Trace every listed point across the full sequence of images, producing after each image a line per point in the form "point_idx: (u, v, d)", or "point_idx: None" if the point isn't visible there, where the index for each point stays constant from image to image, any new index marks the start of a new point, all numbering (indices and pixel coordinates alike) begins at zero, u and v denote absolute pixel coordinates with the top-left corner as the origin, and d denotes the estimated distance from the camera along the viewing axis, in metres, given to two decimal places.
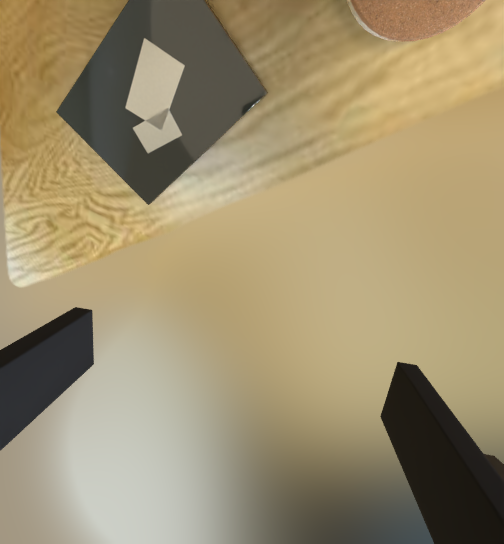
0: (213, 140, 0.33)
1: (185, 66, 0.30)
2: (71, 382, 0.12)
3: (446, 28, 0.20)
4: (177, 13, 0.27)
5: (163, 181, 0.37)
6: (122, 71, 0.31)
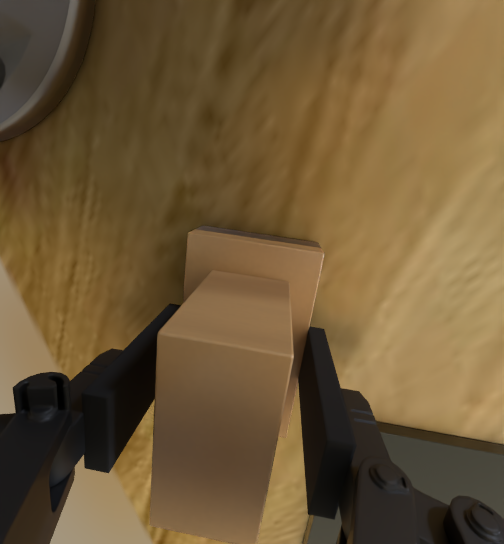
0: None
1: None
2: None
3: None
4: None
5: None
6: None
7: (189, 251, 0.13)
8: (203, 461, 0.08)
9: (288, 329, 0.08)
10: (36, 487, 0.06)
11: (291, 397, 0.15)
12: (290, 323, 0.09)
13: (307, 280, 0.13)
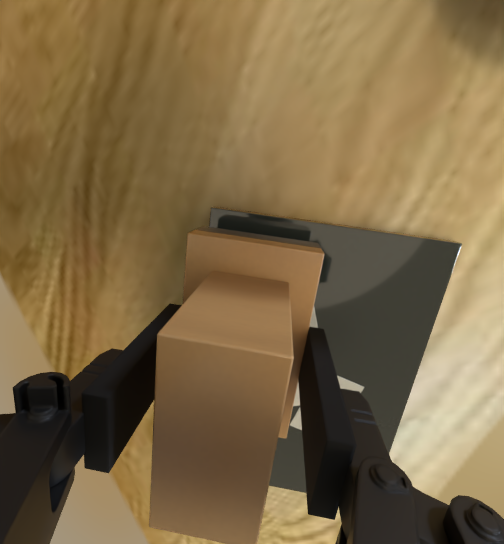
0: (417, 361, 0.18)
1: (315, 306, 0.18)
2: None
3: None
4: None
5: None
6: None
7: (189, 252, 0.13)
8: (203, 462, 0.08)
9: (288, 330, 0.08)
10: (36, 487, 0.06)
11: (291, 398, 0.14)
12: (291, 324, 0.09)
13: (307, 281, 0.13)
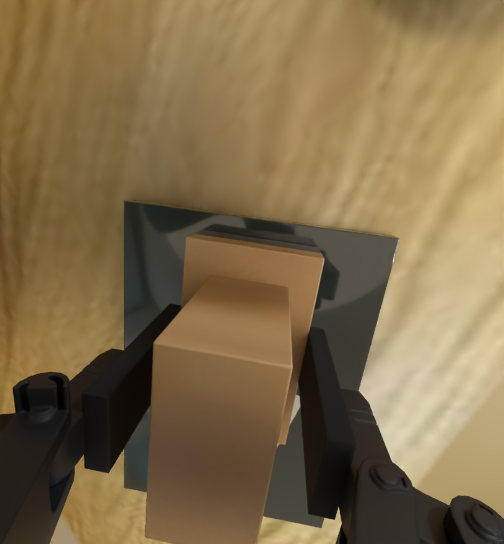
0: (359, 370, 0.16)
1: None
2: None
3: None
4: None
5: None
6: None
7: (187, 256, 0.13)
8: (200, 472, 0.08)
9: (287, 338, 0.08)
10: (36, 487, 0.06)
11: (290, 404, 0.14)
12: (290, 332, 0.09)
13: (306, 286, 0.13)
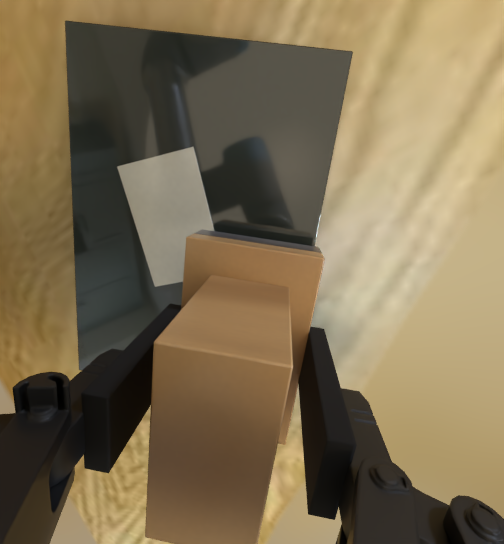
0: (315, 215, 0.16)
1: (195, 147, 0.15)
2: None
3: None
4: (136, 88, 0.15)
5: None
6: (120, 239, 0.17)
7: (188, 255, 0.13)
8: (201, 472, 0.08)
9: (287, 338, 0.08)
10: (36, 487, 0.06)
11: (290, 403, 0.14)
12: (290, 331, 0.09)
13: (307, 286, 0.13)
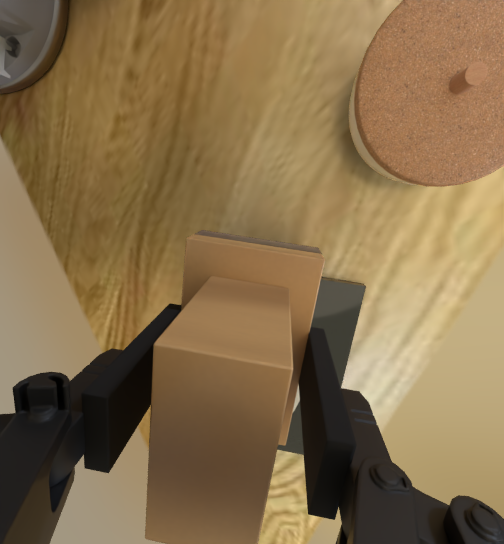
0: (345, 358, 0.29)
1: None
2: None
3: None
4: None
5: None
6: None
7: (188, 256, 0.13)
8: (200, 474, 0.08)
9: (288, 339, 0.08)
10: (36, 487, 0.06)
11: (290, 404, 0.14)
12: (290, 333, 0.09)
13: (307, 287, 0.13)
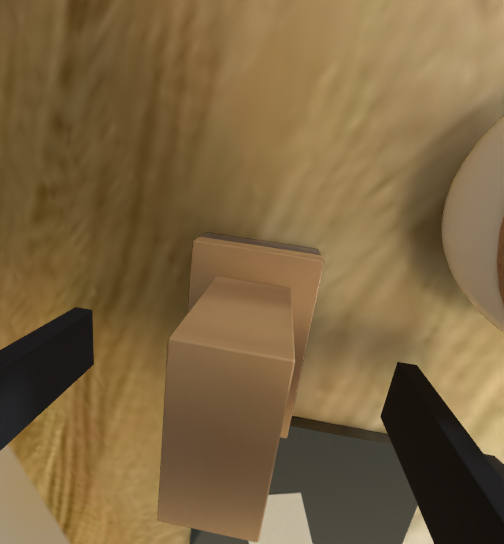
0: (398, 542, 0.19)
1: (302, 493, 0.19)
2: (71, 382, 0.12)
3: None
4: None
5: None
6: (230, 538, 0.21)
7: (194, 258, 0.14)
8: (209, 459, 0.09)
9: (290, 335, 0.09)
10: None
11: (292, 399, 0.15)
12: (292, 329, 0.09)
13: (307, 287, 0.13)
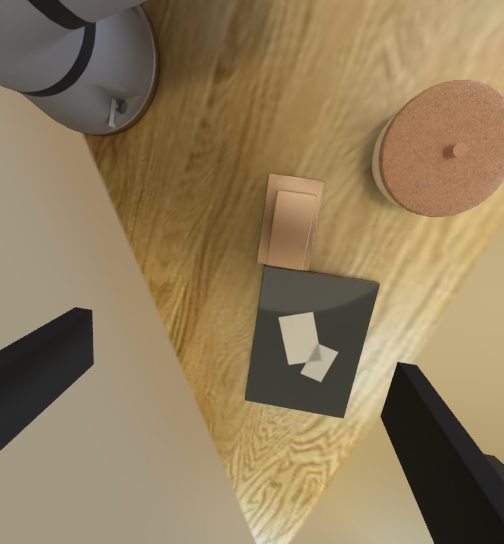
0: (363, 338, 0.37)
1: (313, 312, 0.37)
2: (71, 382, 0.12)
3: None
4: (291, 290, 0.36)
5: (344, 393, 0.40)
6: (275, 345, 0.39)
7: (269, 181, 0.32)
8: (287, 235, 0.27)
9: (313, 194, 0.27)
10: None
11: (310, 249, 0.33)
12: None
13: (318, 193, 0.31)
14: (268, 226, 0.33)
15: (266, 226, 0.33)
